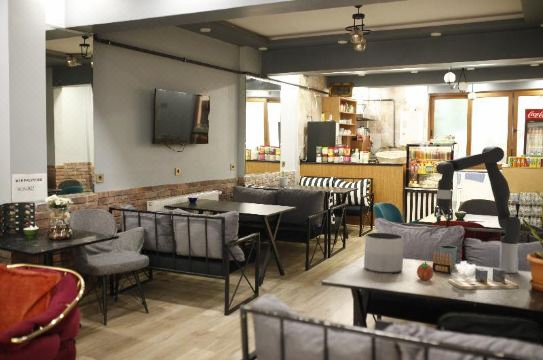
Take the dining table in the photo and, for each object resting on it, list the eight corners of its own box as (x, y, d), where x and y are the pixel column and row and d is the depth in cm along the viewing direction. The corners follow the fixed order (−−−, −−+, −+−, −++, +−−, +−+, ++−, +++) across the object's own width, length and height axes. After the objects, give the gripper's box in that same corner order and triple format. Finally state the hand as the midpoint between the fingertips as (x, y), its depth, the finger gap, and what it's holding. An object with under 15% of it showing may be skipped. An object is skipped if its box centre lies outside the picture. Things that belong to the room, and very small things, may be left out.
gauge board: (503, 280, 286) (504, 266, 285) (518, 288, 272) (519, 273, 271) (448, 282, 281) (448, 267, 281) (461, 289, 267) (461, 274, 267)
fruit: (434, 278, 287) (434, 261, 287) (431, 283, 279) (432, 264, 278) (418, 277, 291) (418, 259, 290) (415, 281, 282) (416, 262, 281)
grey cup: (457, 265, 321) (457, 246, 320) (455, 268, 311) (456, 249, 311) (439, 263, 325) (440, 244, 324) (437, 266, 316) (438, 247, 315)
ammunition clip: (451, 273, 300) (452, 253, 299) (450, 274, 298) (451, 253, 297) (432, 270, 306) (433, 250, 305) (431, 271, 304) (432, 251, 303)
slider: (482, 279, 281) (482, 268, 281) (490, 283, 273) (490, 272, 273) (475, 279, 281) (475, 268, 280) (483, 283, 273) (483, 272, 272)
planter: (409, 269, 307) (410, 236, 306) (390, 276, 291) (392, 240, 289) (376, 263, 322) (377, 231, 320) (356, 269, 305) (357, 235, 304)
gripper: (457, 198, 289) (456, 227, 291) (442, 196, 303) (441, 223, 304) (446, 199, 287) (444, 228, 288) (431, 196, 301) (430, 224, 302)
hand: (443, 226), depth 296 cm, fingers open, 8 cm apart
